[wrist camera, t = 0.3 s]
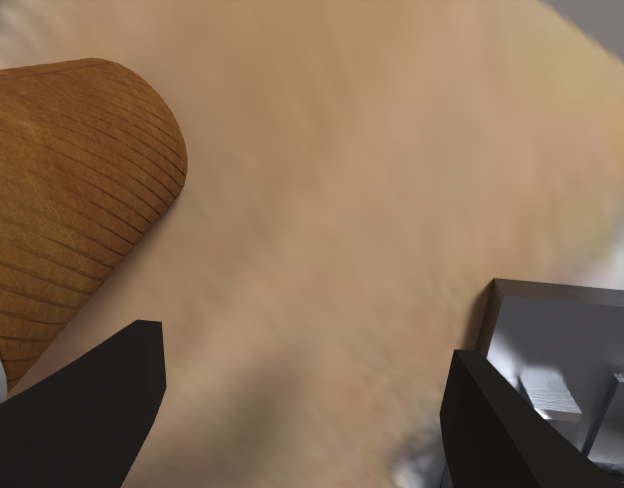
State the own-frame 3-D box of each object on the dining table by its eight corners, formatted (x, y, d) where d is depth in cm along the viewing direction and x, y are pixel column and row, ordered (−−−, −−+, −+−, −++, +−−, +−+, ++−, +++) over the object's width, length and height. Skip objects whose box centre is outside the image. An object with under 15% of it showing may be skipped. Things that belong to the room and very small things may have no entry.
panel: (632, 563, 29) (665, 626, 26) (425, 540, 29) (434, 599, 26) (774, 304, 21) (845, 351, 18) (494, 278, 22) (517, 319, 19)
